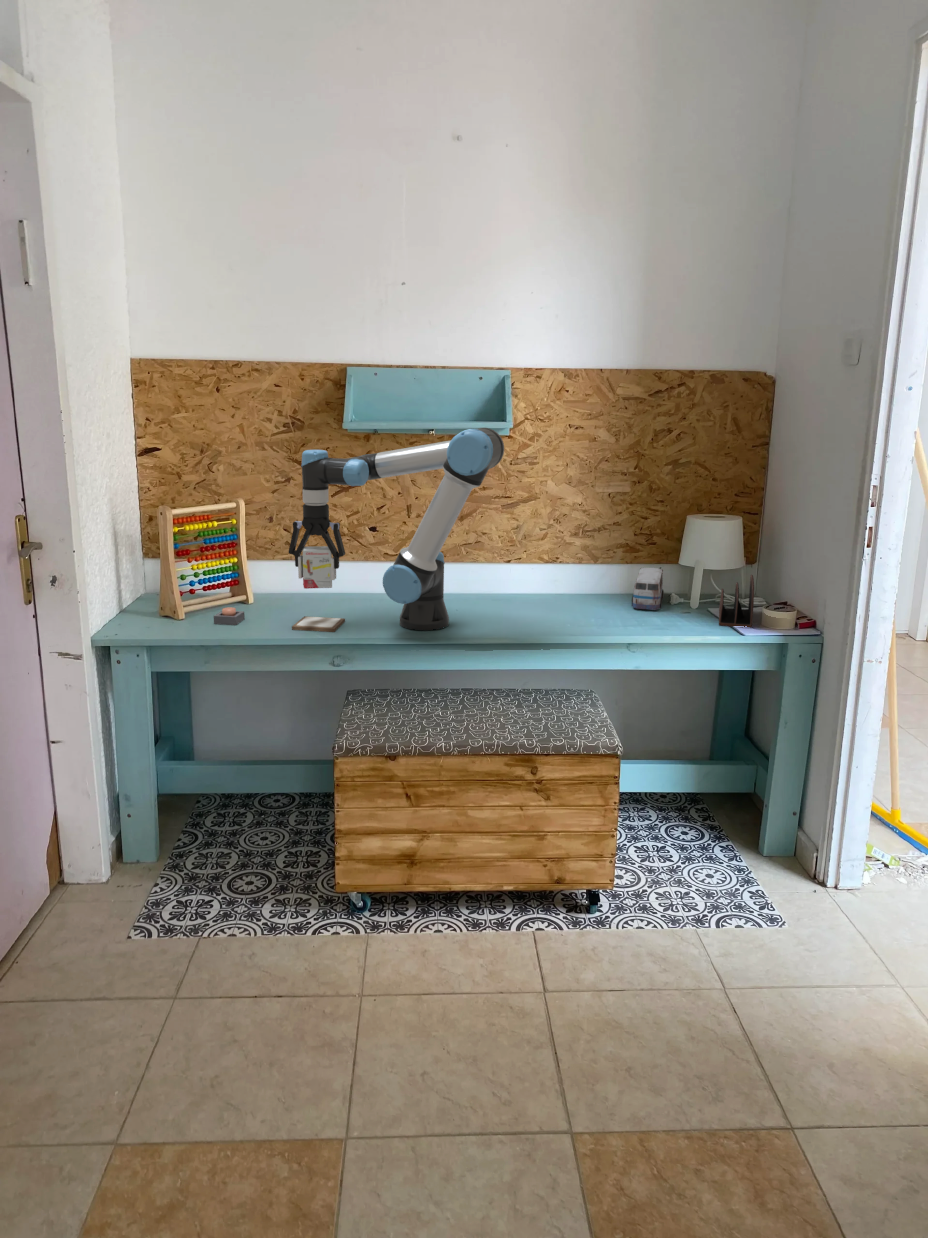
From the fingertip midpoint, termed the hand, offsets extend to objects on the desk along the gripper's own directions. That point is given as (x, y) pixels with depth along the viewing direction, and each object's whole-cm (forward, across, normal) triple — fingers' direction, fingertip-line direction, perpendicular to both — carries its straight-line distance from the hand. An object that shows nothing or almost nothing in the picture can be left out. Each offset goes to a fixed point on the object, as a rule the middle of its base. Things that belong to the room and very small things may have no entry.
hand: (317, 578), depth 273 cm
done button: (+13, +28, +1) cm, 31 cm away
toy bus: (+15, -101, -52) cm, 114 cm away
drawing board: (+15, 0, 0) cm, 15 cm away
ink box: (+3, 0, 0) cm, 3 cm away
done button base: (+15, +28, +1) cm, 32 cm away
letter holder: (+15, -127, -34) cm, 133 cm away
